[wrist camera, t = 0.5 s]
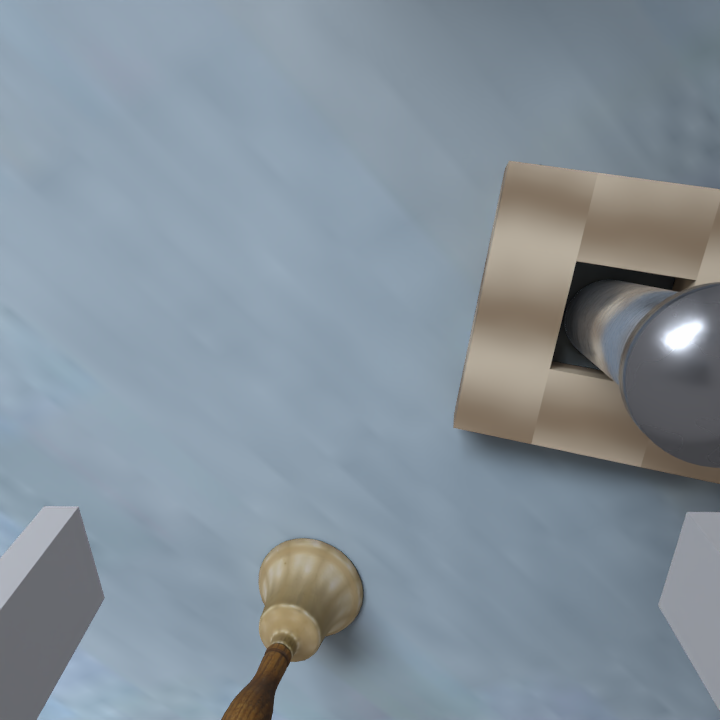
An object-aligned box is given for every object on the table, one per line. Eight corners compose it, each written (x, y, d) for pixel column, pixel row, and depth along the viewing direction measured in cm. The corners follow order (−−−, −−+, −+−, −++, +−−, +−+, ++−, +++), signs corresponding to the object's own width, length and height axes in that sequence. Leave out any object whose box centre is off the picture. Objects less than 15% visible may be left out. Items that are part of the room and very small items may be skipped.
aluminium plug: (566, 260, 33) (655, 268, 18) (675, 277, 32) (868, 302, 17) (542, 359, 35) (605, 446, 19) (646, 378, 34) (799, 486, 18)
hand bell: (315, 653, 42) (231, 881, 27) (239, 581, 42) (112, 768, 27) (385, 591, 40) (337, 802, 25) (305, 516, 40) (207, 680, 25)
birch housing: (505, 168, 33) (509, 160, 30) (789, 207, 30) (822, 203, 28) (454, 413, 36) (453, 427, 34) (704, 465, 34) (726, 485, 31)
